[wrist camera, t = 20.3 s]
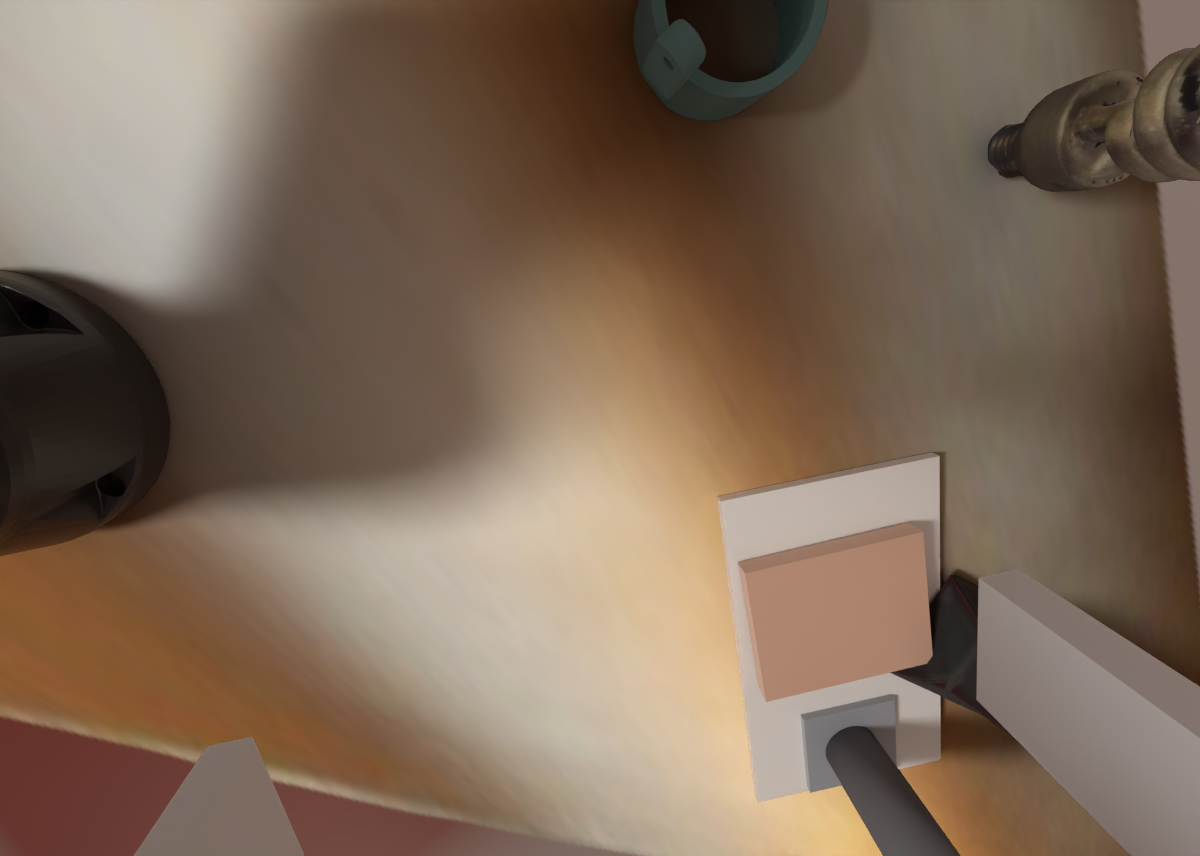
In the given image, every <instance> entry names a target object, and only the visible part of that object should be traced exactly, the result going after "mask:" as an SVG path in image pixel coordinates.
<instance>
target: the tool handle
mask: <svg viewBox="0 0 1200 856" xmlns="http://www.w3.org/2000/svg"><path fill="white" fill-rule="evenodd" d="M826 758H827V760H828V762H829V764H830V765H831V767H832V769H833V771H834V772H835V774H836V776H837V777H838V779H839V781H840V783H841V784H842V786H843V788H844V789H845V791H846V793H847V795H848V796H849V798H850V800H851V801H852V803H853V805H854V807H855V808H856V810H857V812H858V813H859V815H860V817H861V819H862V820H863V822H864V824H865V825H866V827H867V829H868V831H869V832H870V834H871V836H872V837H873V839H874V841H875V843H876V844H877V846H878V848H879V849H880V851H881V853H882V855H883V856H960V854H959V853H958V852H957V850H956V849H955V847H954V846H953V845H952V843H951V842H950V840H949V839H948V838H947V836H946V835H945V833H944V832H943V831H942V829H941V828H940V826H939V825H938V824H937V822H936V821H935V819H934V818H933V817H932V815H931V814H930V812H929V811H928V810H927V808H926V807H925V805H924V804H923V803H922V801H921V800H920V798H919V797H918V796H917V794H916V793H915V791H914V790H913V789H912V787H911V786H910V784H909V783H908V782H907V780H906V779H905V777H904V776H903V775H902V773H901V772H900V771H899V769H898V768H897V766H896V765H895V764H894V762H893V761H892V759H891V758H890V757H889V755H888V754H887V752H886V751H885V750H884V748H883V747H882V745H881V744H880V743H879V741H878V740H877V738H876V737H875V736H874V734H873V733H872V732H871V731H870V730H869V729H867V728H865V727H861V726H851V727H847V728H844V729H842V730H840V731H838V732H837V733H836V734H834V735H833V736H832V738H831V739H830V740H829V742H828V744H827V746H826Z"/></svg>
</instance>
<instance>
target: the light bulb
mask: <svg viewBox="0 0 1200 856" xmlns="http://www.w3.org/2000/svg"><path fill="white" fill-rule="evenodd" d="M988 160H989V162H990V163H991V164H992V165H993V166H994V167H995V168H996V169H997V170H998V172H999V175H1001V176H1004V177H1007V178H1011V177H1016V176H1024V177H1025V178H1026V179H1027V180H1028V181H1029V182H1030V183H1031V184H1032V185H1034V186H1036V187H1038V188H1040V189H1043V190H1047V191H1052V192H1061V191H1080V190H1089V189H1093V188H1101V187H1105V186H1109V185H1112V184H1115V183H1117V182H1119V181H1121V180H1123V179H1125V178H1126V177H1128V176H1129V175H1133V176H1135V177H1137V178H1139V179H1141V180H1144V181H1148V182H1169V181H1175V180H1179V179H1182V180H1190V181H1200V44H1199V45H1198V46H1197V47H1196V48H1187V49H1182V50H1180V51H1177V52H1175V53H1172V54H1170V55H1168V56H1167V57H1165V58H1164V59H1163V60H1161V61H1160V62H1159V63H1158V64H1157V65H1156V66H1155V67H1154V68H1153V69H1152V70H1151V71H1150V72H1149V74H1148V75H1147V77H1146V78H1145V79H1144V78H1143V77H1141V76H1140V75H1139V74H1137V73H1135V72H1132V71H1127V70H1122V69H1119V70H1111V71H1106V72H1103V73H1100V74H1096V75H1093V76H1090V77H1087V78H1085V79H1083V80H1080V81H1078V82H1074V83H1072V84H1069V85H1067V86H1065V87H1062V88H1060V89H1057V90H1055V91H1053V92H1052V93H1050V94H1049V95H1047V96H1046V97H1045V98H1044V99H1042V100H1041V101H1040V102H1039V103H1038V104H1037V105H1036V106H1035V107H1034V108H1033V109H1032V110H1031V112H1030V113H1029V115H1028V116H1027V117H1026V119H1025V121H1024V123H1020V124H1015V125H1006V126H1004V127H1003V128H1002V129H1000V130H999V131H998V132H997V133H996V134H995V135H994V136H993V137H992V138H991V140H990V142H989V145H988Z"/></svg>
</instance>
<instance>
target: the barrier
mask: <svg viewBox="0 0 1200 856" xmlns="http://www.w3.org/2000/svg"><path fill="white" fill-rule="evenodd" d="M929 613H930V626H931V639H932V652H933V656H932V657H931V659H930V660H929V661H928V663H927V664H923V665H919V666H915V667H911V668H907V669H903V670H898V671H894V672H890V673H892V674H894V675H896V676H898V677H900V678H902V679H905V680H907V681H909V682H911V683H913V684H916V685H918V686H920V687H922V688H924V689H926V690H929V691H931V692H933V693H935V694H937V695H940V696H942V697H944V698H946V699H948V700H950V701H953V702H955V703H957V704H959V705H961V706H963V707H966V708H968V709H970V710H972V711H974V712H977V713H979V714H981V715H983V716H984V717H985V718H987V719H988V720H990V721H991V722H992V723H994V724H995V725H997V726H998V727H1000V728H1001V729H1002V730H1004V731H1005V732H1007V733H1008V734H1009V735H1011V734H1010V733H1009V732H1008V731H1007V730H1006V729H1005V728H1004V727H1003V726H1002V725H1001V724H1000V723H999V722H998V721H997V720H996V719H995V718H994V717H993V716H992V715H991V714H990V713H989V712H988V711H987V710H986V709H985V708H984V707H983V706H982V705H981V704H980V703H979V702H978V701H977V700H976V695H977V640H978V586H976V585H974V584H972V583H970V582H968V581H967V580H965V579H963V578H961V577H959V576H957V575H951V576H950V577H949V578H948V580H947V581H946V582H945V584H944V585H943V587H942V588H941V589H940V591H939V592H938V594H937V595H936V596H935V598H934V599H933V600H932V602H931V603H930V605H929ZM1011 736H1012V735H1011ZM1012 737H1013V736H1012Z"/></svg>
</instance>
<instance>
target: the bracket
mask: <svg viewBox="0 0 1200 856" xmlns="http://www.w3.org/2000/svg"><path fill="white" fill-rule="evenodd" d="M773 1H774V4H775V7H776V12H777V18H778V44H777V51H776V55H775V58H774V62H773V65H772V67H771V69H770V71H769V73H768V75H767V76H764V77H762V78H759V79H757V80H753V81H747V82H727V81H723V80H720V79H716V78H713V77H712V76H710V75H708V74H706V73H704V72H702V71H701V70H700V69H698V67H699V66H700V65H701V64H702V62H703V61H704V59H705V56H706V49H705V46H704V44H703V42H702V40H701V38H700V36H699V35H698V33H697V32H696V30H695V29H694V28H693V27H692V26H691V25H690V24H689V23H688V22H687V21H685V20H683V19H678V20H676V21H675V22H673V23H672V24H671V25H669V22H668V17H667V11H666V6H665V0H639V2H638V5H637V9H636V13H635V19H634V28H633V37H634V50H635V54H636V59H637V63H638V66H639V69H640V71H641V74H642V77H643V78H644V79H645V80H646V82H647V83H648V84H649V86H650V87H651V88H652V89H653V91H654V92H655V93H656V95H657V96H658V97H659V98H660V100H661V101H662V102H663V104H664V105H665V106H666V107H668V108H669V109H671V110H672V111H674V112H675V113H677V114H679V115H682V116H684V117H687V118H689V119H694V120H700V121H716V120H720V119H725V118H728V117H731V116H733V115H735V114H738V113H740V112H741V111H743V110H744V109H746V108H747V107H749V106H750V105H752V104H753V103H755V102H756V101H757V100H759V99H760V98H762V97H763V96H765V95H766V94H767V93H769V92H770V91H772V90H773V89H775V88H776V87H778V86H779V85H780V84H782V83H783V82H784V81H786V80H787V79H788V78H789V77H791V76H792V75H793V74H794V73H795V72H796V71H797V70H798V69H799V68H800V66H801V65H802V64H803V63H804V62H805V60H806V59H807V57H808V56H809V54H810V53H811V51H812V50H813V48H814V46H815V44H816V42H817V40H818V37H819V35H820V33H821V30H822V27H823V23H824V20H825V17H826V11H827V5H828V0H773Z"/></svg>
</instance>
